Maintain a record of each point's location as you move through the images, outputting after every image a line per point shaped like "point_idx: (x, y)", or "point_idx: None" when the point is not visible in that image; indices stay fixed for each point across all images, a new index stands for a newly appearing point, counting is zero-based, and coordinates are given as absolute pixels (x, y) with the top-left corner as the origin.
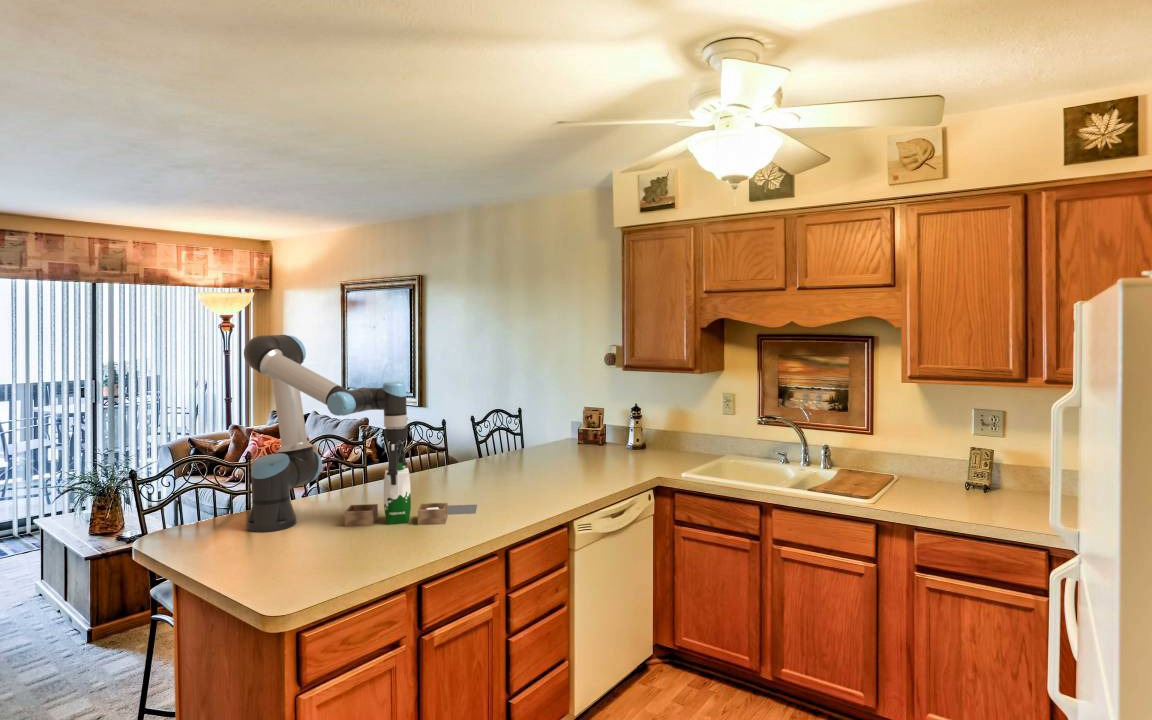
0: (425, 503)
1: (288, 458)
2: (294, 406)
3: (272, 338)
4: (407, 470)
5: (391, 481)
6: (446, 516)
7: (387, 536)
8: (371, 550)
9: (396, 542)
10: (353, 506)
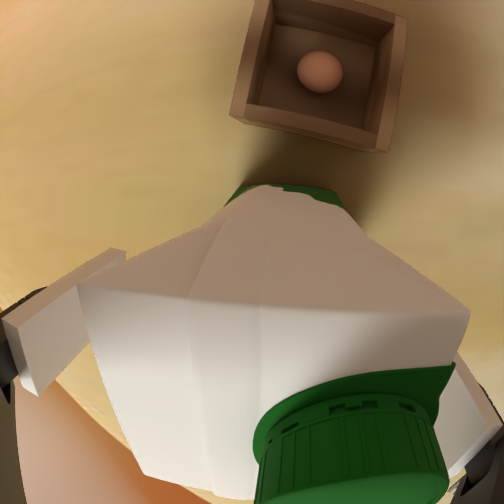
0: None
1: None
2: None
3: None
4: (223, 494)
5: (22, 301)
6: None
7: (113, 189)
8: (22, 153)
9: (60, 219)
10: (392, 28)
